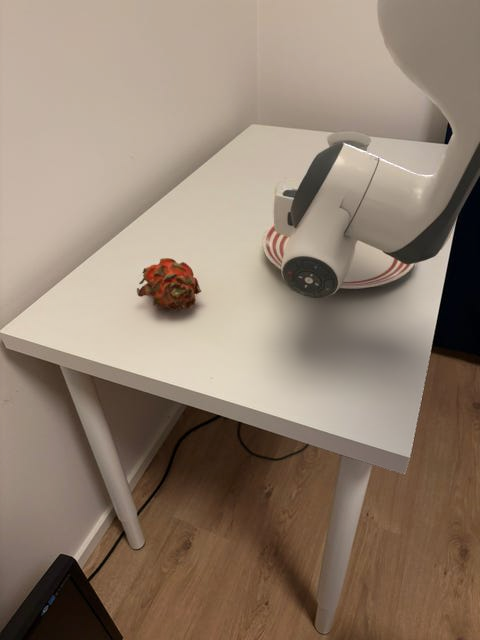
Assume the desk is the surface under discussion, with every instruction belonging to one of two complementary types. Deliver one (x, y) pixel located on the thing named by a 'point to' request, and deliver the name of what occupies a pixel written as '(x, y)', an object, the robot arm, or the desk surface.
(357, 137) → the chalice
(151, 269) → the dragon fruit
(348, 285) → the dinner plate
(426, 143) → the desk surface
